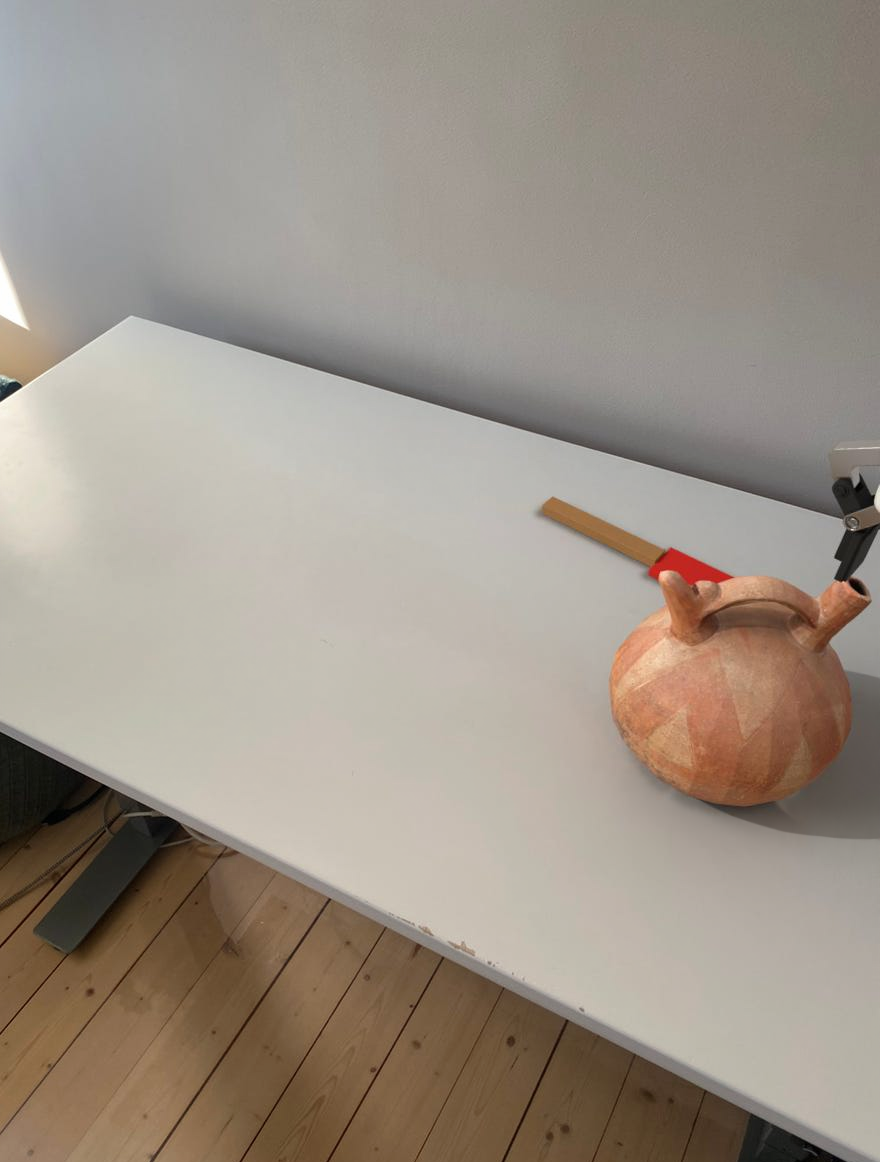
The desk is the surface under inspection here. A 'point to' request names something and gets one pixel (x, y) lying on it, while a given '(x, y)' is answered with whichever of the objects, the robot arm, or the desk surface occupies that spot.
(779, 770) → the jug
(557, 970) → the desk surface
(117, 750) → the desk surface
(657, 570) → the spatula
